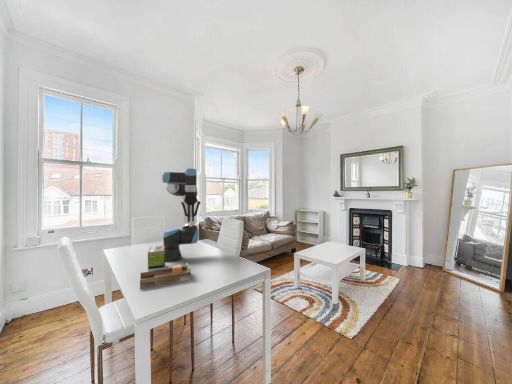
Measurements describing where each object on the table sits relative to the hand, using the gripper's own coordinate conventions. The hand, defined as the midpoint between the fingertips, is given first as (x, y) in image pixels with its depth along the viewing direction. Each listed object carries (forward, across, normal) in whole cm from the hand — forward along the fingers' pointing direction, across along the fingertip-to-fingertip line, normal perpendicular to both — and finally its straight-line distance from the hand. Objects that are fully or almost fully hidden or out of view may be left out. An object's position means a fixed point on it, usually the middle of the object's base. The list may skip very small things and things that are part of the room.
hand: (190, 226), depth 148 cm
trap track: (+29, -16, -11) cm, 35 cm away
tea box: (+30, -21, +9) cm, 37 cm away
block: (+27, -10, -9) cm, 30 cm away
